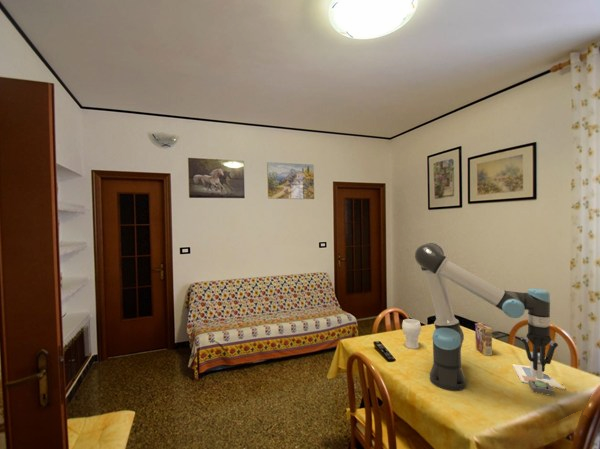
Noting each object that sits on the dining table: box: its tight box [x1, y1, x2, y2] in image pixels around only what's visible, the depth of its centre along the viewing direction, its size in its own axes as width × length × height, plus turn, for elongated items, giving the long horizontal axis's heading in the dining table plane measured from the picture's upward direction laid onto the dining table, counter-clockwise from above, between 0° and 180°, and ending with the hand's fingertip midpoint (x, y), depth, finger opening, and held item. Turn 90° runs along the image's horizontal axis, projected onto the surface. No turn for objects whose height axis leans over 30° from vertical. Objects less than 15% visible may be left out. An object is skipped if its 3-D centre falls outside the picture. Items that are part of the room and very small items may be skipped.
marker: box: [529, 351, 543, 378], centre depth 140 cm, size 4×4×10 cm
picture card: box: [512, 363, 563, 389], centre depth 140 cm, size 16×18×1 cm
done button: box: [535, 380, 547, 389], centre depth 129 cm, size 4×4×3 cm
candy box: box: [474, 322, 493, 356], centre depth 167 cm, size 9×4×15 cm, turn 2°
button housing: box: [528, 380, 555, 396], centre depth 129 cm, size 7×7×2 cm
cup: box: [401, 318, 422, 350], centre depth 177 cm, size 11×11×15 cm
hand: (538, 377), depth 129 cm, fingers closed
